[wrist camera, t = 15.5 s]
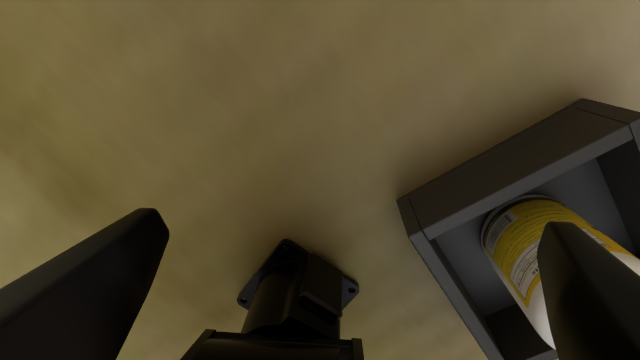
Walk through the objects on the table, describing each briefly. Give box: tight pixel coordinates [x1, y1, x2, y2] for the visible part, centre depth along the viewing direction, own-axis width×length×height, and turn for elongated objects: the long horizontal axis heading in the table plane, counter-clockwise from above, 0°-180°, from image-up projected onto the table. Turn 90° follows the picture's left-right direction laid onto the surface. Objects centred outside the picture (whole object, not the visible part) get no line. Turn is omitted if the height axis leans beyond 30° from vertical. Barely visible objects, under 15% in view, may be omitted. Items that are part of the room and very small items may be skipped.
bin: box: [396, 98, 640, 360], centre depth 20 cm, size 12×12×4 cm
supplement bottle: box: [481, 195, 640, 350], centre depth 17 cm, size 5×5×10 cm
